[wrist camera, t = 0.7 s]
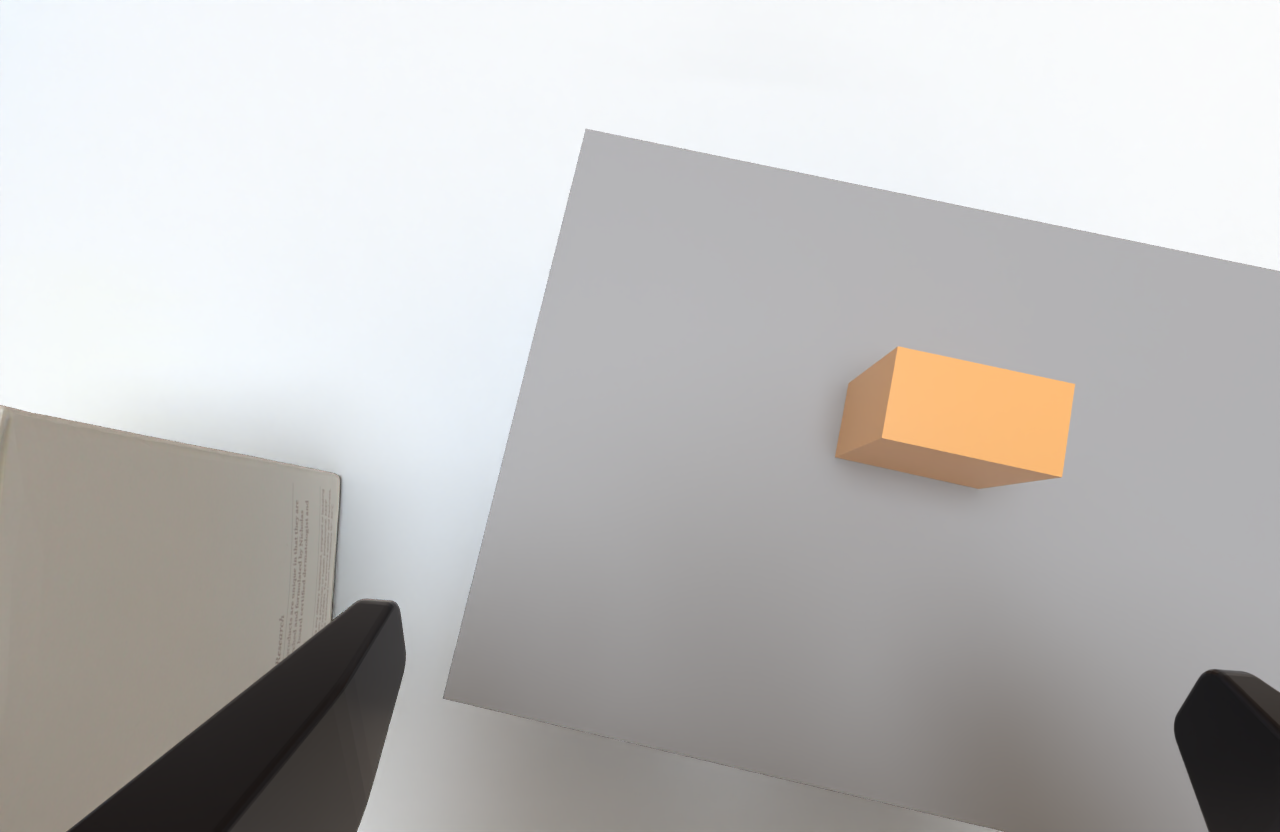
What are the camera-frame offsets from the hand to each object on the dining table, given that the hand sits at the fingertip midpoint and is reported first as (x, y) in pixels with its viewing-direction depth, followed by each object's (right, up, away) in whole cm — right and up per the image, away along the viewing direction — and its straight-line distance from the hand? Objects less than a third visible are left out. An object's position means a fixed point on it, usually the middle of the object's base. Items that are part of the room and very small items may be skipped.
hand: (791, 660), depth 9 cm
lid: (+4, +1, +8) cm, 9 cm away
